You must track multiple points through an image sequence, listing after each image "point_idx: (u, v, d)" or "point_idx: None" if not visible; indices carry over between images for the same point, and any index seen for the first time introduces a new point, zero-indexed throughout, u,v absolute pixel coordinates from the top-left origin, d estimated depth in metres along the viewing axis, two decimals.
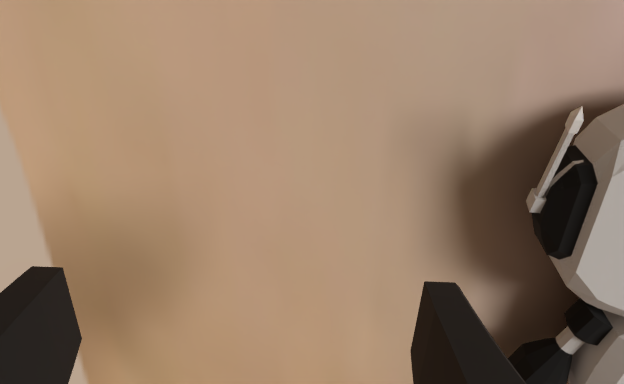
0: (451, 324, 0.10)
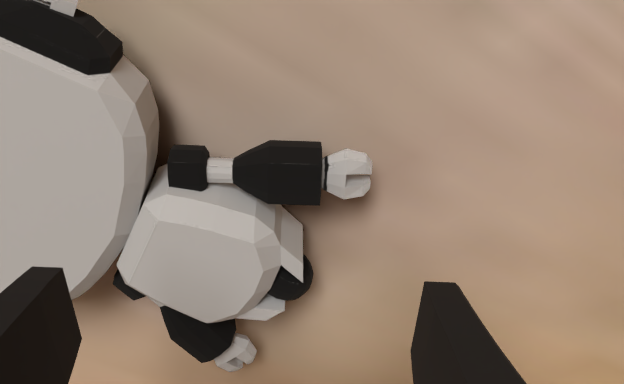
0: (451, 324, 0.10)
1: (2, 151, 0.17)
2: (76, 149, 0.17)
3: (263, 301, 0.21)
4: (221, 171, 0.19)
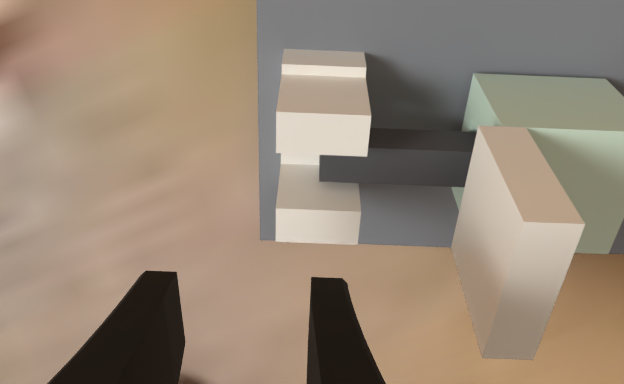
0: (322, 319, 0.10)
1: None
2: None
3: None
4: None
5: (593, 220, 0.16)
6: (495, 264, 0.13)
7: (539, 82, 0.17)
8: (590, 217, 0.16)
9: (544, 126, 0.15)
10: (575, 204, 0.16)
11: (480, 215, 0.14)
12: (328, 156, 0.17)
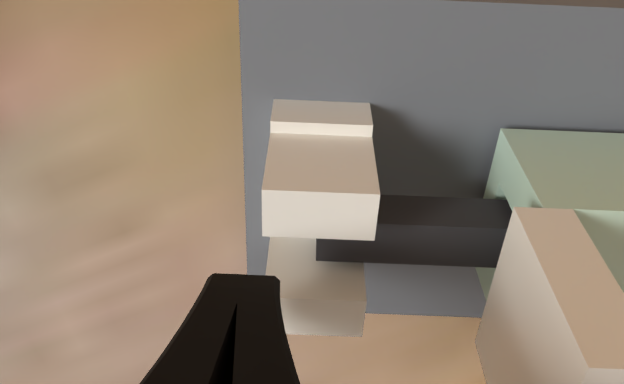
0: (246, 316, 0.10)
1: None
2: None
3: None
4: None
5: None
6: None
7: (581, 141, 0.14)
8: None
9: (595, 207, 0.12)
10: None
11: (517, 323, 0.11)
12: None
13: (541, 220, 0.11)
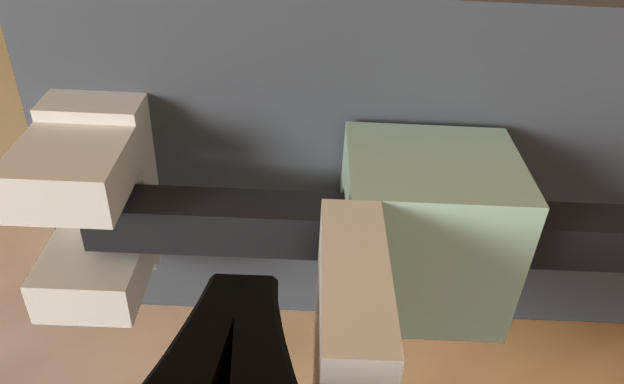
0: (244, 316, 0.10)
1: None
2: None
3: None
4: None
5: (481, 305, 0.13)
6: None
7: (422, 134, 0.14)
8: (476, 302, 0.13)
9: (405, 199, 0.12)
10: (456, 288, 0.13)
11: (317, 315, 0.11)
12: None
13: (343, 212, 0.11)
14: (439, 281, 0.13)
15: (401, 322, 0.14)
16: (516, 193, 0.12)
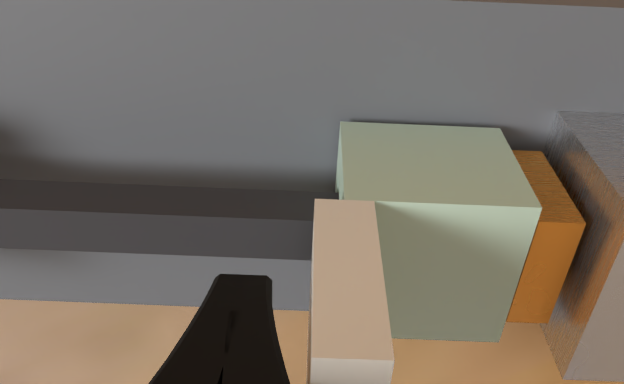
0: (237, 316, 0.10)
1: None
2: None
3: None
4: None
5: (475, 305, 0.13)
6: None
7: (416, 133, 0.14)
8: (470, 302, 0.13)
9: (398, 199, 0.12)
10: (450, 287, 0.13)
11: (309, 314, 0.11)
12: None
13: (336, 212, 0.11)
14: (433, 281, 0.13)
15: (395, 322, 0.14)
16: (509, 193, 0.12)
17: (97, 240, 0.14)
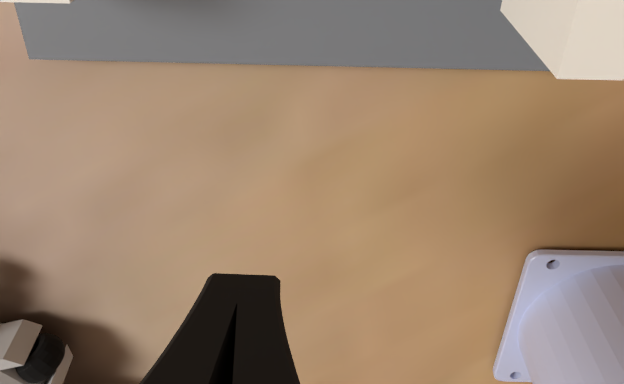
0: (246, 316, 0.10)
1: None
2: None
3: None
4: None
5: None
6: None
7: None
8: None
9: None
10: None
11: None
12: None
13: None
14: None
15: None
16: None
17: None
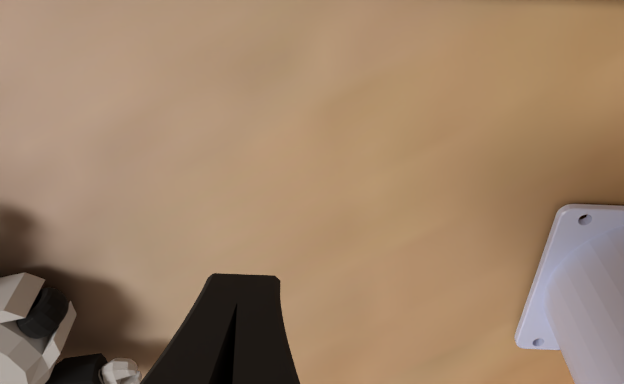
0: (246, 316, 0.10)
1: None
2: None
3: (48, 343, 0.24)
4: None
5: None
6: None
7: None
8: None
9: None
10: None
11: None
12: None
13: None
14: None
15: None
16: None
17: None
